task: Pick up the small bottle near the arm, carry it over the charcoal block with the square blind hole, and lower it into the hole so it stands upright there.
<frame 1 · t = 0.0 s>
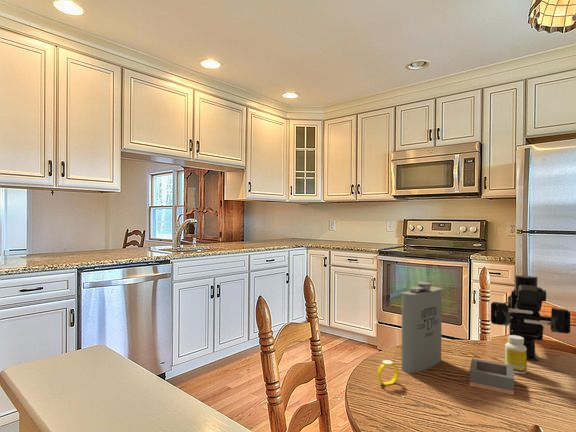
hand: (530, 324, 96), 17 cm above the table, tool horizontal, fingers open, 9 cm apart
flask: (423, 366, 110), on the table
supplement bottle: (515, 371, 107), on the table
socket block: (491, 382, 98), on the table
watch: (387, 384, 97), on the table
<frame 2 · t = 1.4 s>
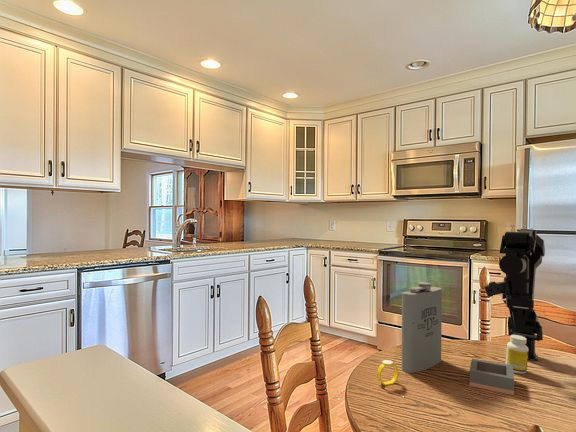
hand: (516, 328, 106), 12 cm above the table, tool pointing down, fingers open, 9 cm apart
nothing on the table moved.
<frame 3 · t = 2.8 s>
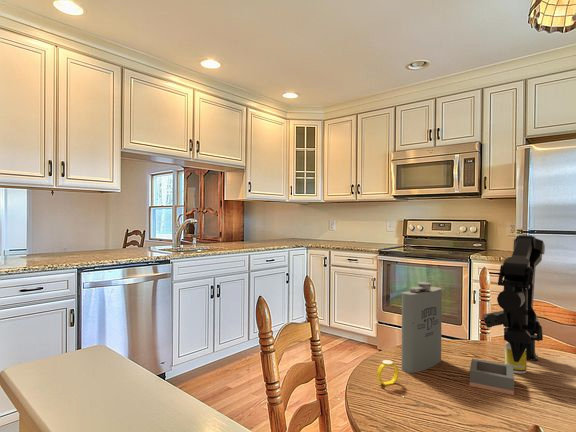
hand: (515, 358, 107), 4 cm above the table, tool pointing down, fingers closed on supplement bottle, 5 cm apart
supplement bottle: (515, 371, 107), on the table, touching gripper
everything else where it was.
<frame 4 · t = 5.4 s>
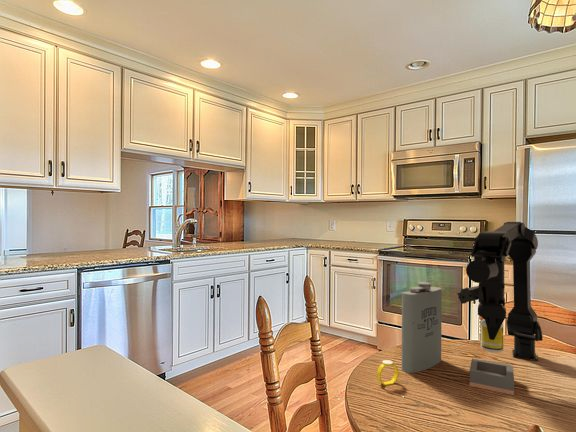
hand: (491, 336, 98), 12 cm above the table, tool pointing down, fingers closed on supplement bottle, 5 cm apart
supplement bottle: (491, 350, 98), point 9 cm above the table, touching gripper
everything else where it was.
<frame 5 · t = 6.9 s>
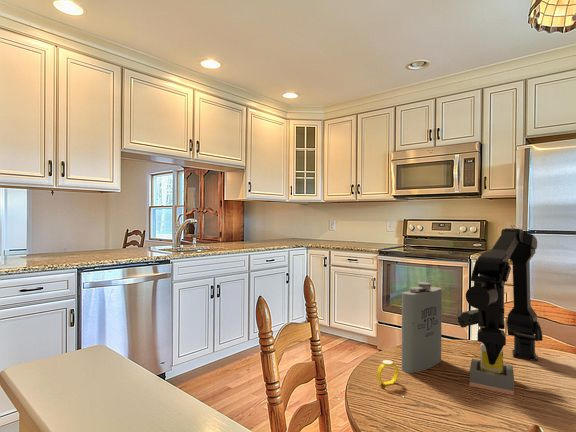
hand: (491, 360, 98), 6 cm above the table, tool pointing down, fingers closed on supplement bottle, 5 cm apart
supplement bottle: (491, 374, 98), point 2 cm above the table, touching gripper
everything else where it was.
when the fingers open (6 cm above the table, at t = 7.9 s): supplement bottle drops 1 cm, resting on socket block.
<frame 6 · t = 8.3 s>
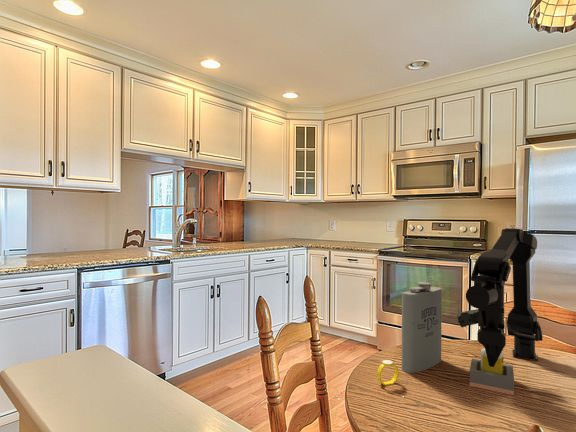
hand: (491, 360, 98), 6 cm above the table, tool pointing down, fingers open, 9 cm apart
supplement bottle: (491, 379, 98), point 1 cm above the table, touching socket block
everything else where it was.
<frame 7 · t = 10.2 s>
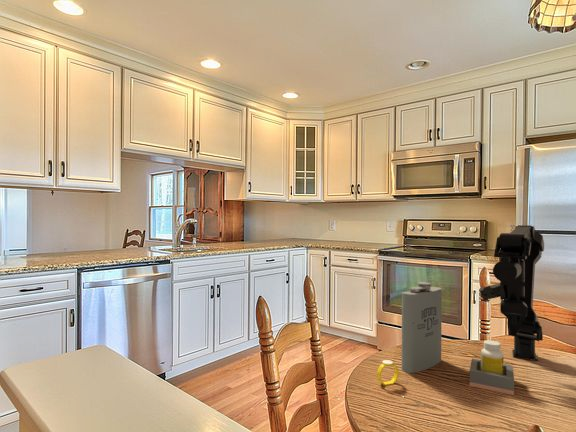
hand: (513, 330, 105), 12 cm above the table, tool pointing down, fingers open, 9 cm apart
nothing on the table moved.
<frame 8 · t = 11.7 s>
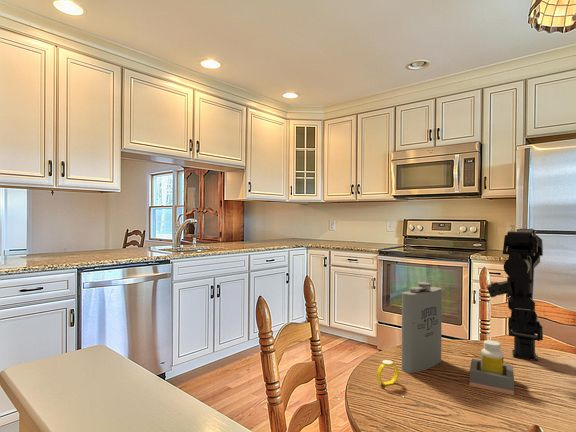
hand: (519, 327, 107), 13 cm above the table, tool pointing down, fingers open, 9 cm apart
nothing on the table moved.
at the end: supplement bottle 0.2 cm off-centre on the socket block, point 0.8 cm above the socket block's base; supplement bottle tilted 0°; the gripper is holding nothing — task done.
